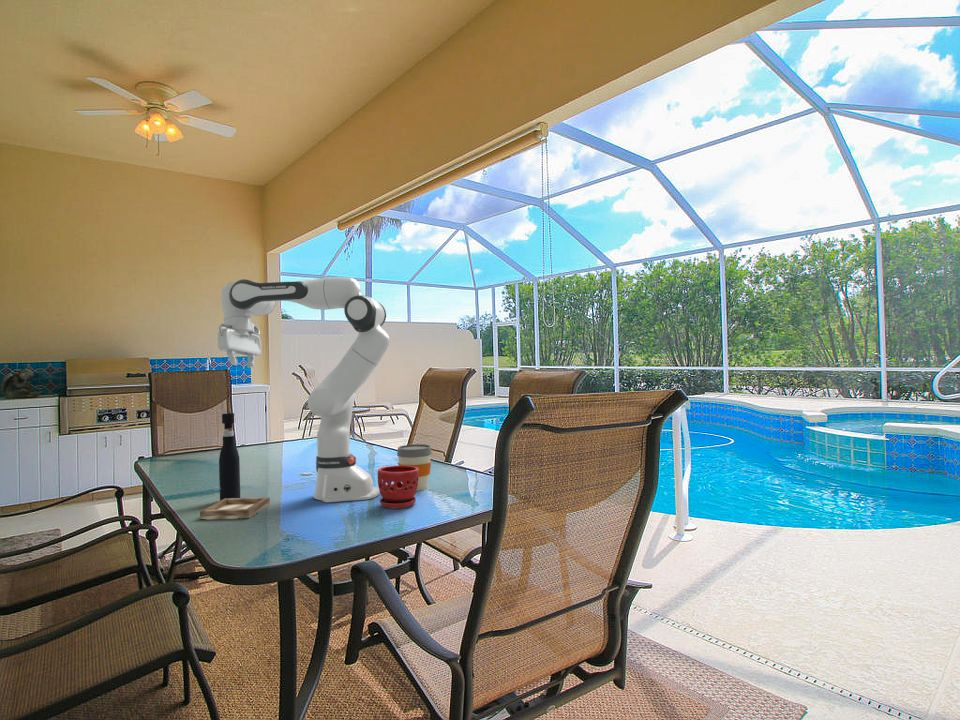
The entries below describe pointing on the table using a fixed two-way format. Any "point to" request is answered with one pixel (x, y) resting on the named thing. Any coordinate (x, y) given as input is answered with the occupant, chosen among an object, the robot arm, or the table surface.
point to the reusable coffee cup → (416, 461)
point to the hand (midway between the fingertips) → (242, 365)
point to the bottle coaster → (235, 508)
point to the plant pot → (398, 486)
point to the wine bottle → (229, 462)
